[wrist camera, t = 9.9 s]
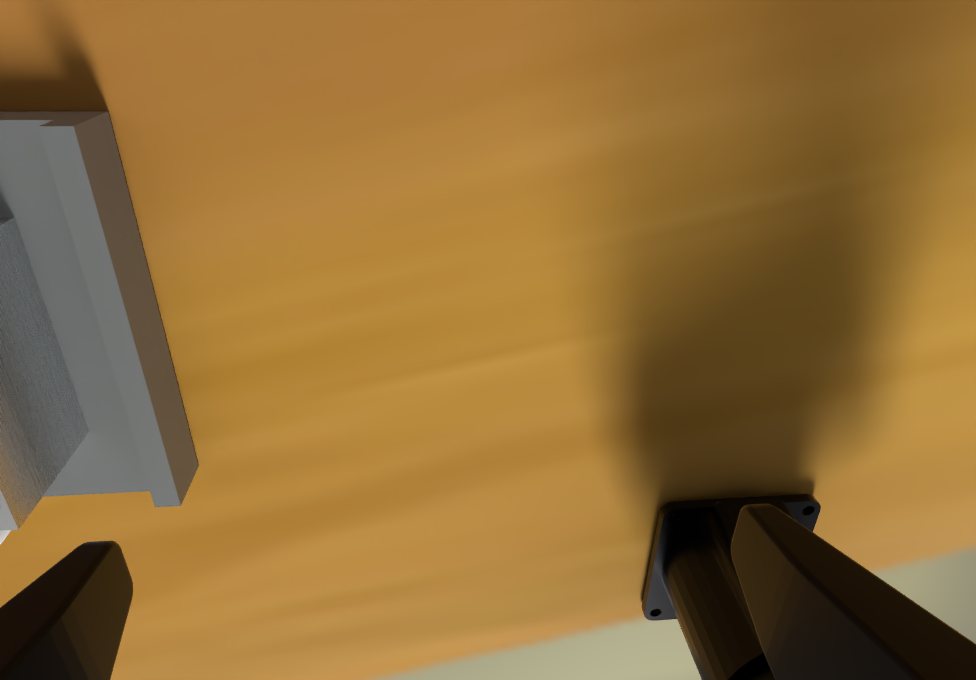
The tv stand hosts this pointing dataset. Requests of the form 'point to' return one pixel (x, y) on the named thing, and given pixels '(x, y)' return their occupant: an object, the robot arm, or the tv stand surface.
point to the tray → (97, 303)
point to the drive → (30, 388)
